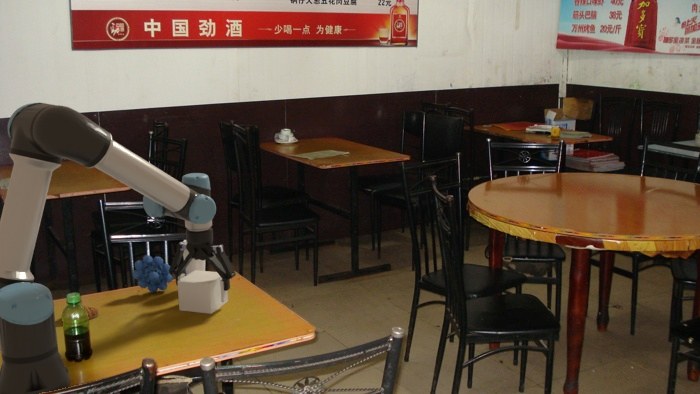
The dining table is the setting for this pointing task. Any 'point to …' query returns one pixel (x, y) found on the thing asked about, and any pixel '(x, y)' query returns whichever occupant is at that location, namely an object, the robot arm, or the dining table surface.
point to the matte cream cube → (200, 292)
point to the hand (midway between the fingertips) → (203, 298)
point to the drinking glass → (193, 263)
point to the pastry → (91, 312)
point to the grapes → (152, 273)
